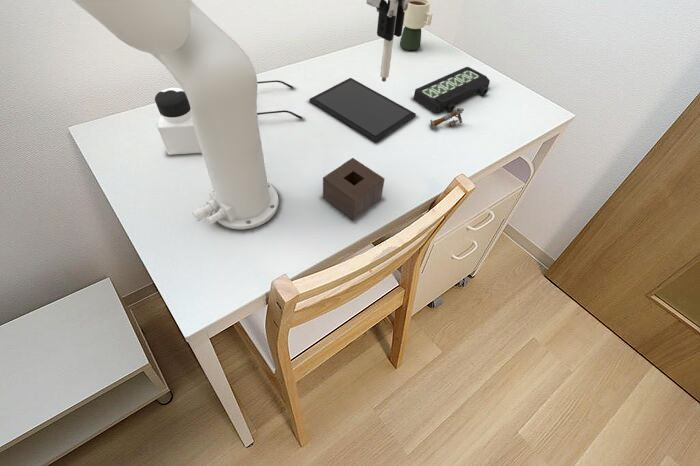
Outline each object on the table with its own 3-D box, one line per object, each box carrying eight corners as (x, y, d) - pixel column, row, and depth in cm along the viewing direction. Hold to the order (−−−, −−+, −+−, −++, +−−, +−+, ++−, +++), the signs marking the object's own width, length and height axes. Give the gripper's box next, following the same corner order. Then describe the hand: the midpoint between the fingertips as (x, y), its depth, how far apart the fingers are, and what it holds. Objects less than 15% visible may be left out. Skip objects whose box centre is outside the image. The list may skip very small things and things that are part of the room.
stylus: (384, 83, 72) (394, 3, 61) (377, 80, 73) (386, 0, 62) (389, 80, 73) (400, 1, 62) (383, 77, 74) (392, -2, 63)
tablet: (375, 143, 86) (376, 139, 86) (309, 102, 95) (309, 98, 94) (415, 116, 94) (416, 113, 93) (350, 80, 102) (350, 77, 102)
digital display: (443, 106, 92) (414, 88, 96) (440, 117, 94) (412, 99, 99) (497, 80, 101) (467, 64, 105) (493, 91, 103) (464, 75, 108)
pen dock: (353, 220, 72) (355, 200, 68) (322, 197, 75) (322, 177, 71) (381, 198, 76) (384, 178, 71) (351, 178, 79) (352, 157, 75)
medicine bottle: (203, 153, 81) (187, 103, 72) (168, 155, 80) (147, 105, 71) (205, 132, 85) (191, 83, 76) (172, 134, 84) (153, 84, 75)
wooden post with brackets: (466, 122, 92) (464, 108, 88) (435, 137, 93) (432, 123, 89) (463, 118, 93) (461, 104, 89) (433, 132, 94) (429, 119, 90)
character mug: (430, 50, 116) (441, 3, 106) (417, 57, 112) (426, 10, 102) (402, 37, 120) (409, -9, 110) (388, 44, 116) (394, -3, 106)
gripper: (389, -87, 47) (375, 59, 61) (460, -104, 54) (433, 30, 69) (345, -100, 50) (342, 42, 64) (419, -115, 57) (400, 15, 72)
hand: (389, 35), depth 66 cm, fingers closed on stylus, 1 cm apart
